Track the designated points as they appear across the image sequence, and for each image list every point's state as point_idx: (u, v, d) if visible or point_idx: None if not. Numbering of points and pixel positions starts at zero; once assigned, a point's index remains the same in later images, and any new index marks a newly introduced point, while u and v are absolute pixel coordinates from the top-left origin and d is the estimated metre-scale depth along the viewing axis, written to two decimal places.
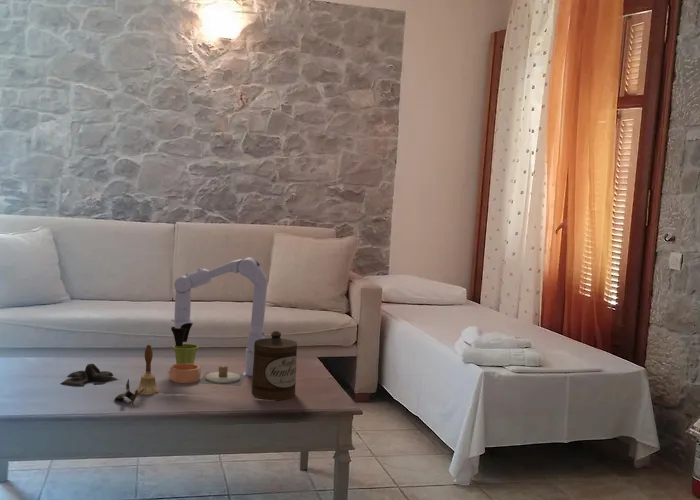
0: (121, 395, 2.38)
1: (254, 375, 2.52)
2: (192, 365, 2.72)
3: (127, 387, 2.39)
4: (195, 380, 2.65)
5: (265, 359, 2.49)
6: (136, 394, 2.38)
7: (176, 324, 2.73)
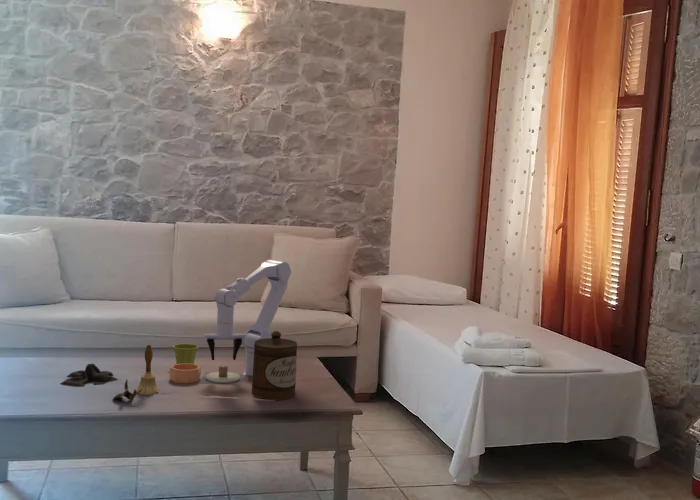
0: (119, 395, 2.39)
1: (254, 375, 2.52)
2: (192, 365, 2.72)
3: (125, 387, 2.39)
4: (195, 380, 2.65)
5: (265, 359, 2.49)
6: (134, 394, 2.38)
7: (204, 335, 2.68)
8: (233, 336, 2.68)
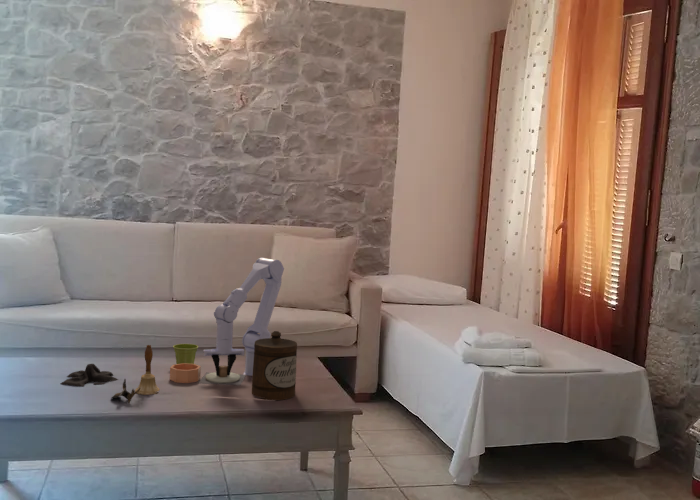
0: (118, 394, 2.39)
1: (254, 375, 2.52)
2: (192, 365, 2.72)
3: (124, 386, 2.40)
4: (195, 380, 2.65)
5: (265, 359, 2.49)
6: (132, 393, 2.38)
7: (203, 351, 2.68)
8: (232, 352, 2.69)
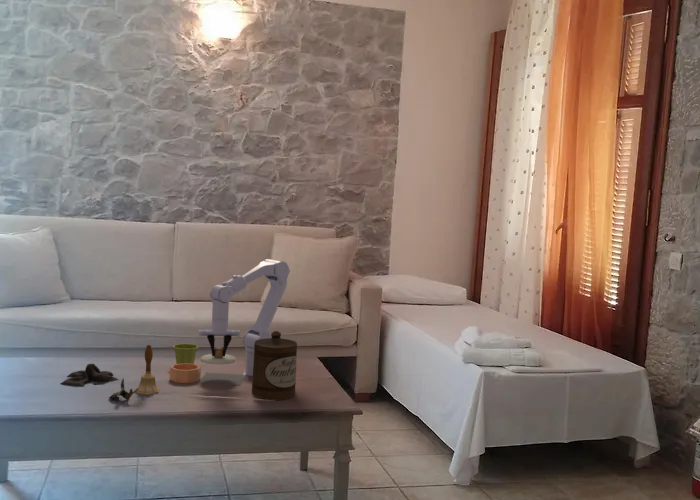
0: (116, 394, 2.39)
1: (254, 375, 2.52)
2: (192, 365, 2.72)
3: (122, 386, 2.40)
4: (195, 380, 2.65)
5: (265, 359, 2.49)
6: (131, 393, 2.39)
7: None
8: (228, 332, 2.68)
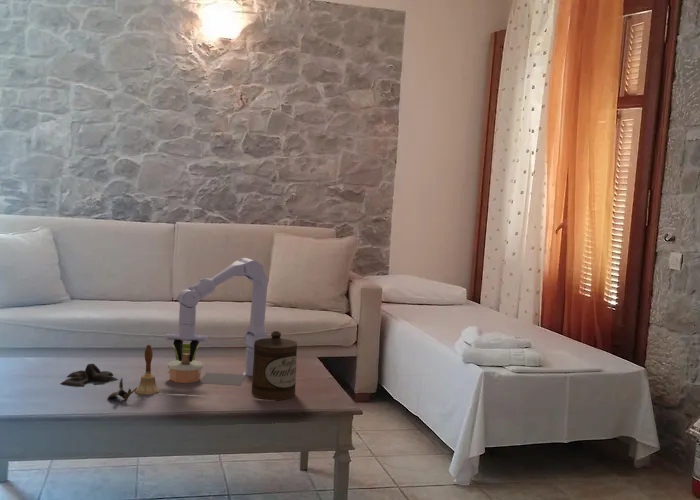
0: (114, 394, 2.39)
1: (254, 375, 2.52)
2: None
3: (120, 386, 2.40)
4: (195, 380, 2.65)
5: (265, 359, 2.49)
6: (129, 393, 2.39)
7: None
8: (193, 338, 2.65)
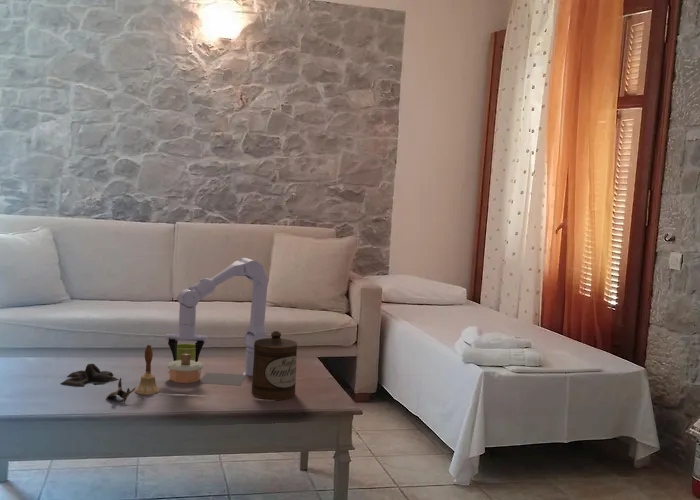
0: (113, 393, 2.40)
1: (254, 375, 2.52)
2: None
3: (119, 385, 2.40)
4: (195, 380, 2.65)
5: (265, 359, 2.49)
6: (128, 392, 2.39)
7: None
8: (193, 338, 2.65)
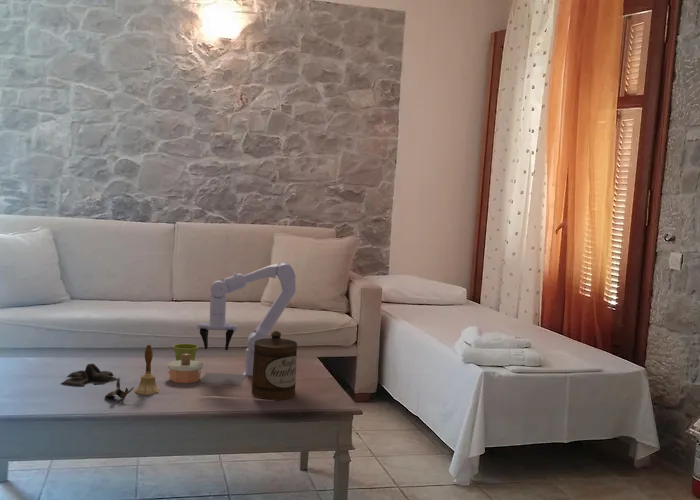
0: (111, 393, 2.40)
1: (254, 375, 2.52)
2: None
3: (117, 385, 2.41)
4: (195, 380, 2.65)
5: (265, 359, 2.49)
6: (126, 392, 2.39)
7: None
8: (224, 327, 2.76)
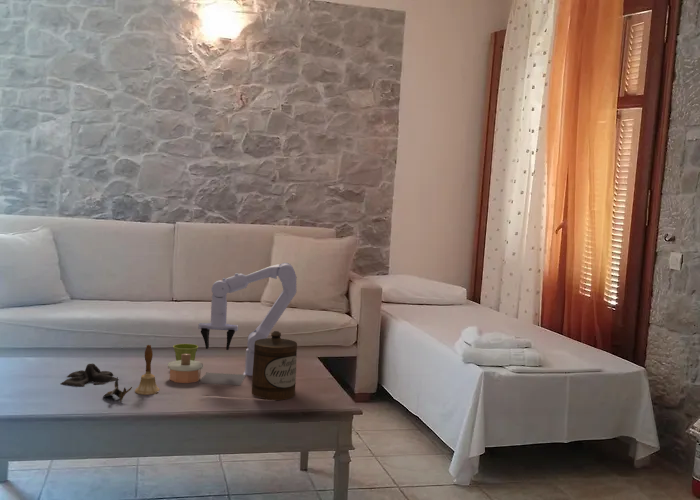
0: (109, 393, 2.40)
1: (254, 375, 2.52)
2: None
3: (115, 385, 2.41)
4: (195, 380, 2.65)
5: (265, 359, 2.49)
6: (124, 392, 2.39)
7: None
8: (225, 327, 2.76)
